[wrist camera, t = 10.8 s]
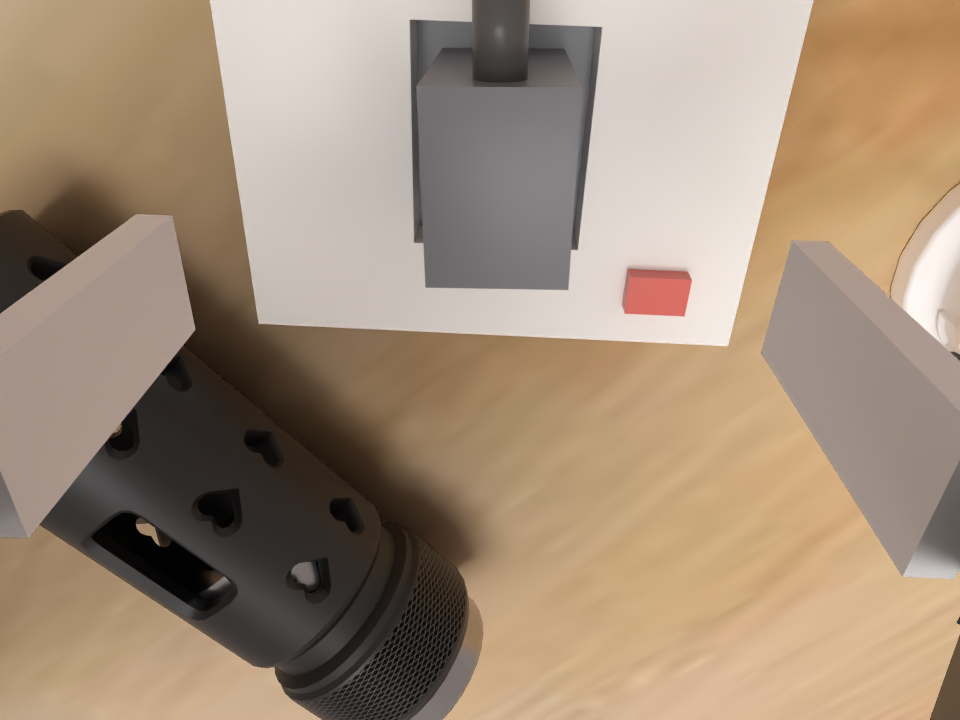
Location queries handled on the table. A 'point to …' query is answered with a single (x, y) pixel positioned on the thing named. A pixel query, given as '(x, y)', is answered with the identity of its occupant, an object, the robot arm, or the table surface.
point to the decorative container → (933, 273)
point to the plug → (498, 157)
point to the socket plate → (600, 166)
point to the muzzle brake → (260, 539)
